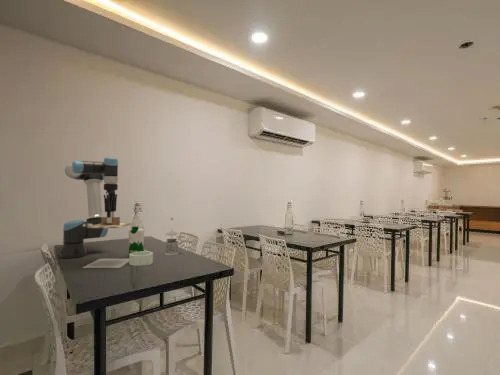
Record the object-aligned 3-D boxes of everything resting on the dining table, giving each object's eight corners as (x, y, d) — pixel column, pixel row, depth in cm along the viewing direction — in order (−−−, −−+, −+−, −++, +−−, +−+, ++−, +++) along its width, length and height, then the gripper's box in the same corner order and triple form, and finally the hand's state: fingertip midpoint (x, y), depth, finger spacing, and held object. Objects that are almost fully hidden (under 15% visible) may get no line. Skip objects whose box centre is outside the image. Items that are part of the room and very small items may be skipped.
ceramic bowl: (126, 266, 171) (126, 256, 171) (134, 260, 184) (134, 251, 184) (148, 266, 171) (148, 256, 171) (155, 260, 184) (155, 251, 184)
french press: (166, 251, 210) (167, 216, 210) (183, 252, 210) (183, 217, 210) (162, 254, 200) (162, 218, 200) (179, 255, 200) (179, 218, 200)
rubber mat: (82, 268, 166) (82, 267, 166) (99, 259, 187) (99, 258, 187) (119, 268, 167) (119, 267, 167) (133, 259, 188) (133, 258, 188)
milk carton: (126, 257, 191) (126, 227, 191) (133, 254, 200) (133, 225, 200) (139, 258, 190) (139, 227, 190) (145, 255, 199) (146, 225, 199)
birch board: (87, 228, 168) (87, 218, 168) (102, 224, 186) (102, 215, 186) (119, 228, 168) (119, 218, 168) (131, 224, 186) (131, 215, 186)
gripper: (111, 183, 169) (111, 224, 169) (122, 183, 185) (122, 221, 185) (98, 183, 169) (97, 224, 169) (110, 183, 185) (109, 221, 185)
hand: (110, 222), depth 177 cm, fingers closed on birch board, 2 cm apart
